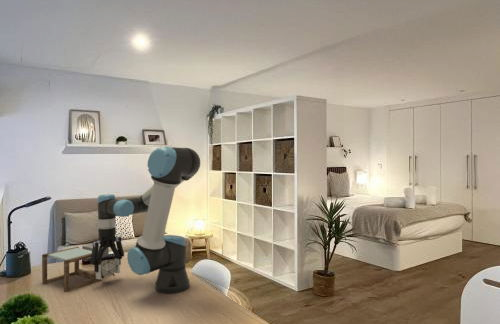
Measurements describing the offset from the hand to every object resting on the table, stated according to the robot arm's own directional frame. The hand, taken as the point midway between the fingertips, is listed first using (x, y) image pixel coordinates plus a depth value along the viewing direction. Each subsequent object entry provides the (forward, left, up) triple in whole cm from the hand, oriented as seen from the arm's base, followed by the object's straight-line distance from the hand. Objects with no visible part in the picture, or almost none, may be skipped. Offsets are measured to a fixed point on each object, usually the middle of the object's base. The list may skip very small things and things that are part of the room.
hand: (108, 275), depth 156 cm
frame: (+16, +8, -3) cm, 18 cm away
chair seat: (+16, +4, +7) cm, 18 cm away
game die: (0, 0, 0) cm, 1 cm away
